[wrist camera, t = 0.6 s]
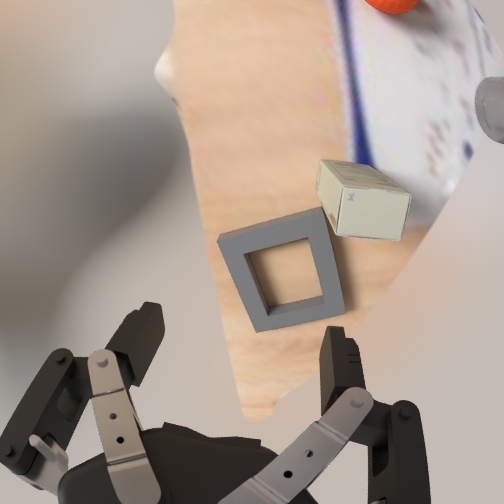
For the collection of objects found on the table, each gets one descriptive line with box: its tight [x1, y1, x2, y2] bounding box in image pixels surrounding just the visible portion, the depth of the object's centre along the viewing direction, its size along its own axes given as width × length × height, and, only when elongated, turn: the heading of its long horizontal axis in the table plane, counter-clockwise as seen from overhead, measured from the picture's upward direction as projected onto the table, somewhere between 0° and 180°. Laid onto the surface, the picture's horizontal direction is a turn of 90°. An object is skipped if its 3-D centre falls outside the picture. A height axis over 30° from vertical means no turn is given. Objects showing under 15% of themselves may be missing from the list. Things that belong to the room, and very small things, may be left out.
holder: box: [217, 207, 346, 333], centre depth 38 cm, size 13×15×2 cm
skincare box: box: [316, 160, 412, 241], centre depth 27 cm, size 6×4×12 cm
